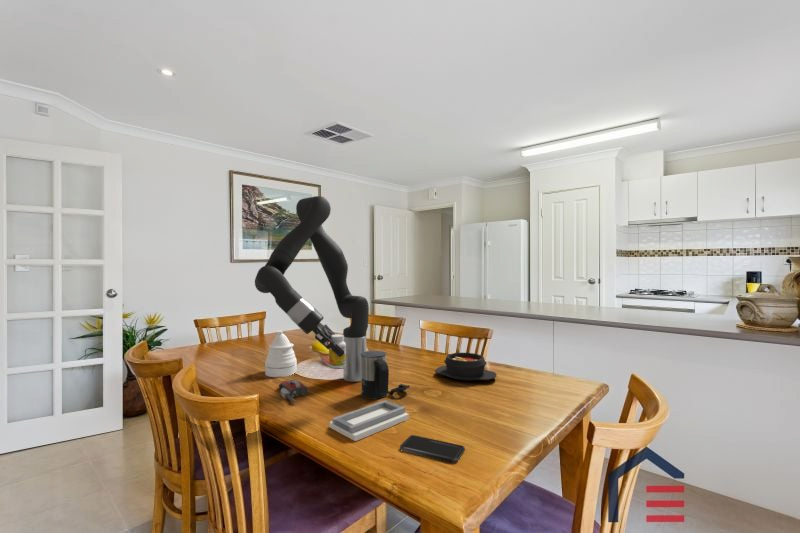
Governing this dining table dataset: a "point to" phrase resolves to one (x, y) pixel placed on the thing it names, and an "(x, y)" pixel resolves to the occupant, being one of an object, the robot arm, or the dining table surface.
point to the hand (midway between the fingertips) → (343, 352)
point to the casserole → (465, 367)
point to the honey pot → (280, 357)
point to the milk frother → (376, 375)
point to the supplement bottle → (333, 357)
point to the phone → (433, 448)
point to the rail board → (369, 420)
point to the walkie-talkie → (292, 389)
